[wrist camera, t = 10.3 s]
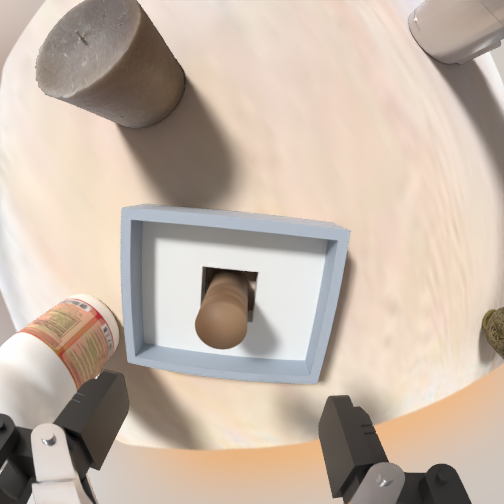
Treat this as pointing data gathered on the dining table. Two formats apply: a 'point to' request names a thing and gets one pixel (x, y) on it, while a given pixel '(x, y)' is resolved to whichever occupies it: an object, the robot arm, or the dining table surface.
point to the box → (236, 258)
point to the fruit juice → (55, 359)
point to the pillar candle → (111, 64)
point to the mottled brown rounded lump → (495, 329)
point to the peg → (224, 310)
